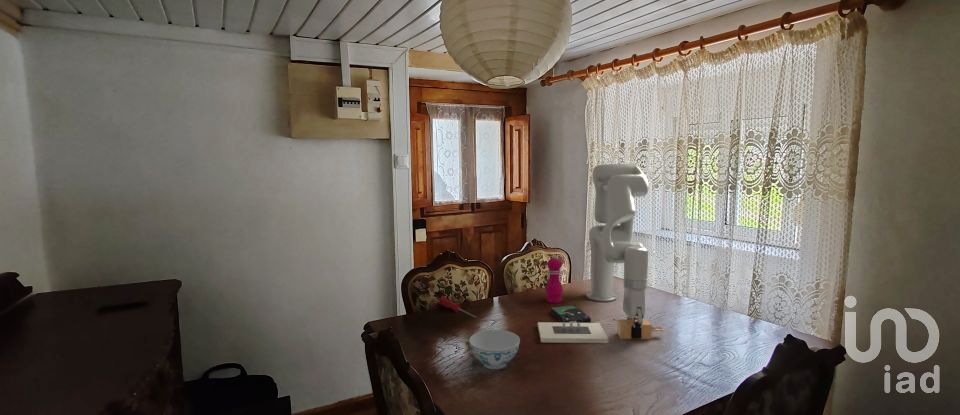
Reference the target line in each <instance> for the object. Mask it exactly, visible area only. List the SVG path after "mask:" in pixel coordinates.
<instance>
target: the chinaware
mask: <svg viewBox="0 0 960 415" xmlns="http://www.w3.org/2000/svg"><path fill="white" fill-rule="evenodd" d="M468 341H469V346H470V349H471V352H472V353H473V355H474V357H475V358H476V359H477V360H478V361H479V362H480V363H482V364H483V366H484V367H485V368H487V369H490V370H499V369H503V368H504V367H506V365H507V364H508V363H509V362H510V361H512V360H513V358H515V356H516V354H517V352H518V350H519V347H520V342H521V339H520V336H518V335H517V334H516V333H515V332H511V331H508V330H502V329H485V330H480V331H477V332H475V333H473V334H472V335H471V336H470V338H469V340H468Z"/></svg>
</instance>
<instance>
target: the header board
mask: <svg viewBox="0 0 960 415" xmlns="http://www.w3.org/2000/svg"><path fill="white" fill-rule="evenodd" d="M537 329H538V334H539V338H540V343H558V344H559V343H561V344H563V343H564V344H565V343H568V344H570V343H571V344H586V343H587V344H609V338H608V336H607V334H606V332H605V331H604V329H603V327H602V325H601V323H600V322H591V323H579V322H578V323H572V322H570V323H565V322H563V323H561V322H541V321H540V322H539V321H538V322H537Z"/></svg>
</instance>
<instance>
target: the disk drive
mask: <svg viewBox="0 0 960 415" xmlns="http://www.w3.org/2000/svg"><path fill="white" fill-rule="evenodd" d="M550 313H551V315H552V316H554V317H555V318H556V319H557V320H558V321H559V323H563V322H565V323H570V322H572V323H578V322H579V323H592V317H590V316H589V315H587V313H585V312H584V311H582V310H581V309H580V308H579V307H577V306H576V305H574V304H573V305H563V306H557V307H554V306H552V307H551V308H550Z"/></svg>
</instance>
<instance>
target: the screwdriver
mask: <svg viewBox="0 0 960 415" xmlns="http://www.w3.org/2000/svg"><path fill="white" fill-rule="evenodd" d="M438 304H439V305H441V306H442V307H445V308H447V309H452V310H453V312H456V313H458V312H460V311H461V312H463V313H465V314H467V315H469V316H471V317H473V318H477V316H476V315H473V314H472V313H470V312H467V311H466V310H463V309H462V308H461V304H459V303H454V301H453V300H451V299H449V298H447V297H445V296H441V297H440V298H439V299H438Z"/></svg>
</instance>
